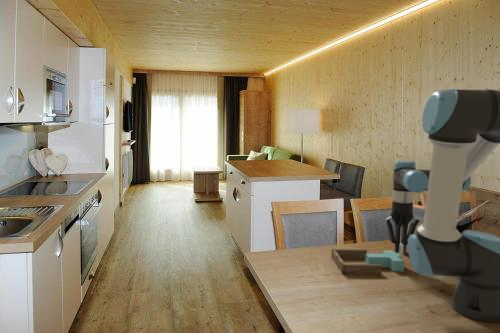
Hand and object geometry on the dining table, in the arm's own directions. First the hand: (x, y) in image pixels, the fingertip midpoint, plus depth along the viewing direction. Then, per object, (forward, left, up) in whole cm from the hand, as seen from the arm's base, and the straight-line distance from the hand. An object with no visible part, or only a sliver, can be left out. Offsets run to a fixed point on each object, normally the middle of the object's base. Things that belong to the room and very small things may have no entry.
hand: (399, 260), depth 151 cm
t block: (0, +7, -2) cm, 7 cm away
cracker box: (+14, -11, -2) cm, 18 cm away
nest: (0, +18, -2) cm, 18 cm away
